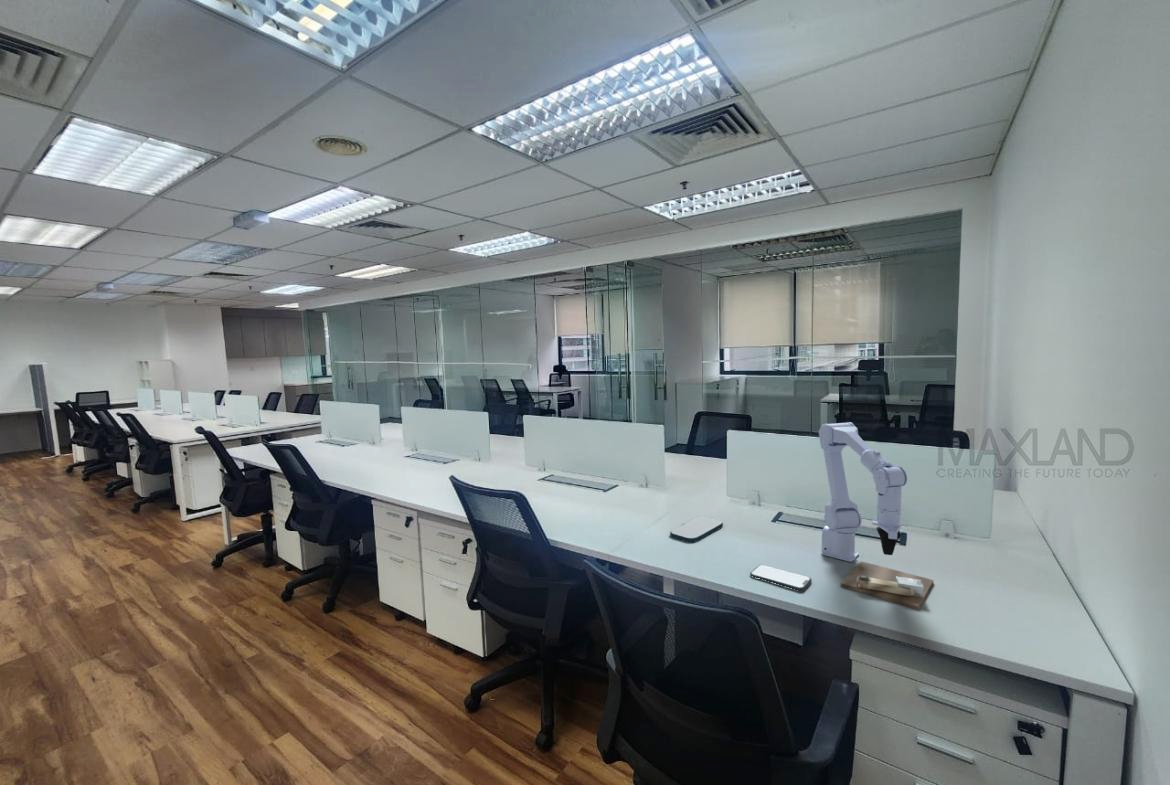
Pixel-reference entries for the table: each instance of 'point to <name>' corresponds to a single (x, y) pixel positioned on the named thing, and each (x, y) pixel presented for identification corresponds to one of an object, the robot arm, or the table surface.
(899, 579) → the keeper
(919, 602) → the walnut board
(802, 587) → the phone case
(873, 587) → the pivot link
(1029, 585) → the table surface
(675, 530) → the external hard drive
